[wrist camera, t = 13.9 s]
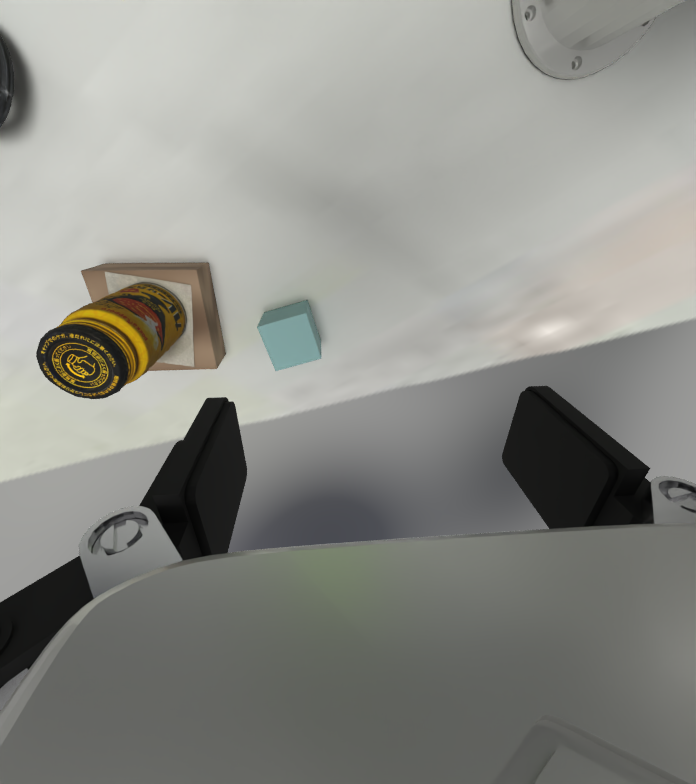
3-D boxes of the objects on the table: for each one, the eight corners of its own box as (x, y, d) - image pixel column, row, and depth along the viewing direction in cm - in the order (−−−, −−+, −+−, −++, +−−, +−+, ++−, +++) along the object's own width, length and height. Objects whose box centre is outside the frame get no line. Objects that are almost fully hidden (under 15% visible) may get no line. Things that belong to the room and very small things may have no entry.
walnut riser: (105, 263, 34) (81, 270, 30) (208, 262, 34) (196, 269, 31) (136, 356, 38) (118, 371, 35) (225, 353, 39) (216, 368, 36)
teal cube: (264, 312, 37) (257, 327, 33) (307, 299, 37) (306, 313, 33) (280, 352, 40) (275, 371, 35) (320, 341, 39) (321, 358, 35)
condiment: (191, 284, 31) (129, 326, 21) (194, 366, 35) (144, 435, 25) (105, 270, 30) (-5, 307, 20) (119, 357, 34) (33, 425, 24)
